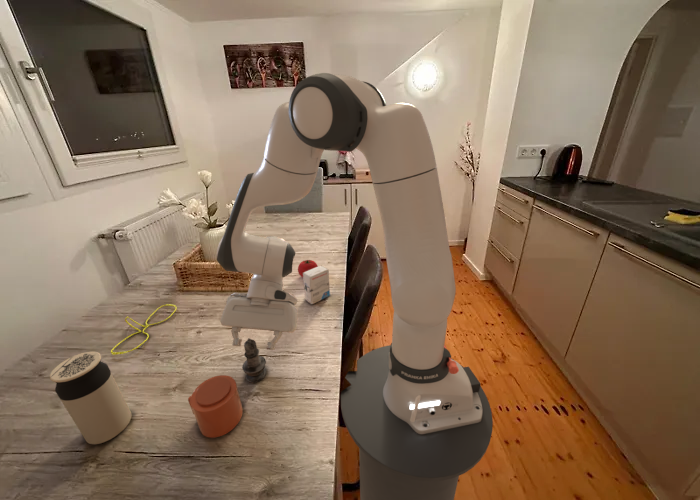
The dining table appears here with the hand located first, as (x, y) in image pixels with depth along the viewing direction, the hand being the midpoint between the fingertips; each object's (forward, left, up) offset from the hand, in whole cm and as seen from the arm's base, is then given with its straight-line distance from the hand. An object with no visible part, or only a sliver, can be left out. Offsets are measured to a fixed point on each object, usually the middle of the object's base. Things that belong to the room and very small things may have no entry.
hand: (253, 347), depth 72 cm
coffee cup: (+4, +13, -8) cm, 16 cm away
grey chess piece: (0, +1, -8) cm, 8 cm away
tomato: (-6, -52, -8) cm, 53 cm away
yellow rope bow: (+43, -18, -8) cm, 47 cm away
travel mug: (+28, +15, -8) cm, 33 cm away
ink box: (-12, -35, -8) cm, 38 cm away
